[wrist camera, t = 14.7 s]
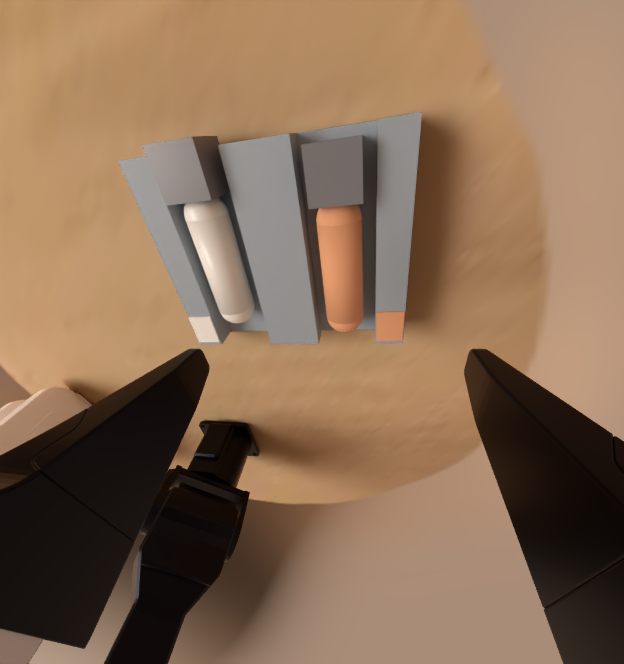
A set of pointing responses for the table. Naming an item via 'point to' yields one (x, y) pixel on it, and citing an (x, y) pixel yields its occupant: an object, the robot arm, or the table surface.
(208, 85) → the table surface
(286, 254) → the ribbed grooved tray
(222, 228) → the white-handled mallet
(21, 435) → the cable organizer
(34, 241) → the table surface
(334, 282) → the orange-handled mallet
